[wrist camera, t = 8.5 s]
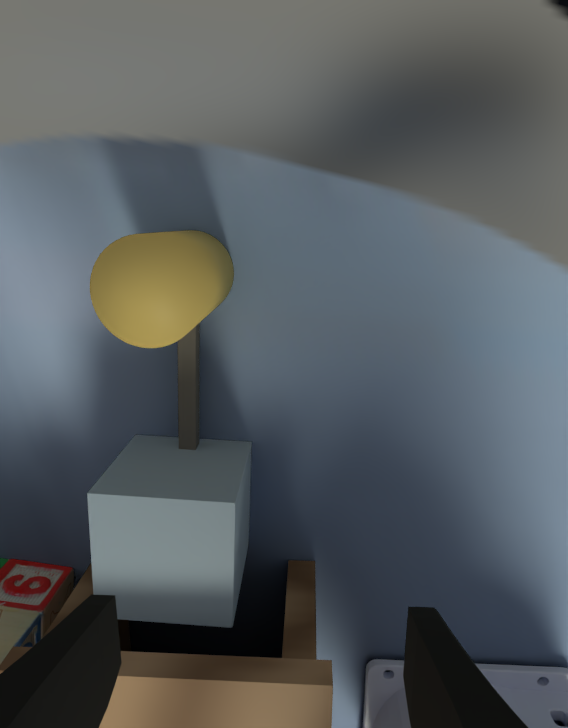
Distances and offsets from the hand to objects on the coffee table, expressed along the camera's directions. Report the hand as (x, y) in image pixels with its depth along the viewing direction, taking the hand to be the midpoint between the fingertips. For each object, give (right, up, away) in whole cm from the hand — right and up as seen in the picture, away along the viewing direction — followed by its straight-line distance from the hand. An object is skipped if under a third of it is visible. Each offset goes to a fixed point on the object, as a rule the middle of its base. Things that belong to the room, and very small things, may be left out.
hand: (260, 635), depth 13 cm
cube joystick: (-3, +5, +9) cm, 11 cm away
